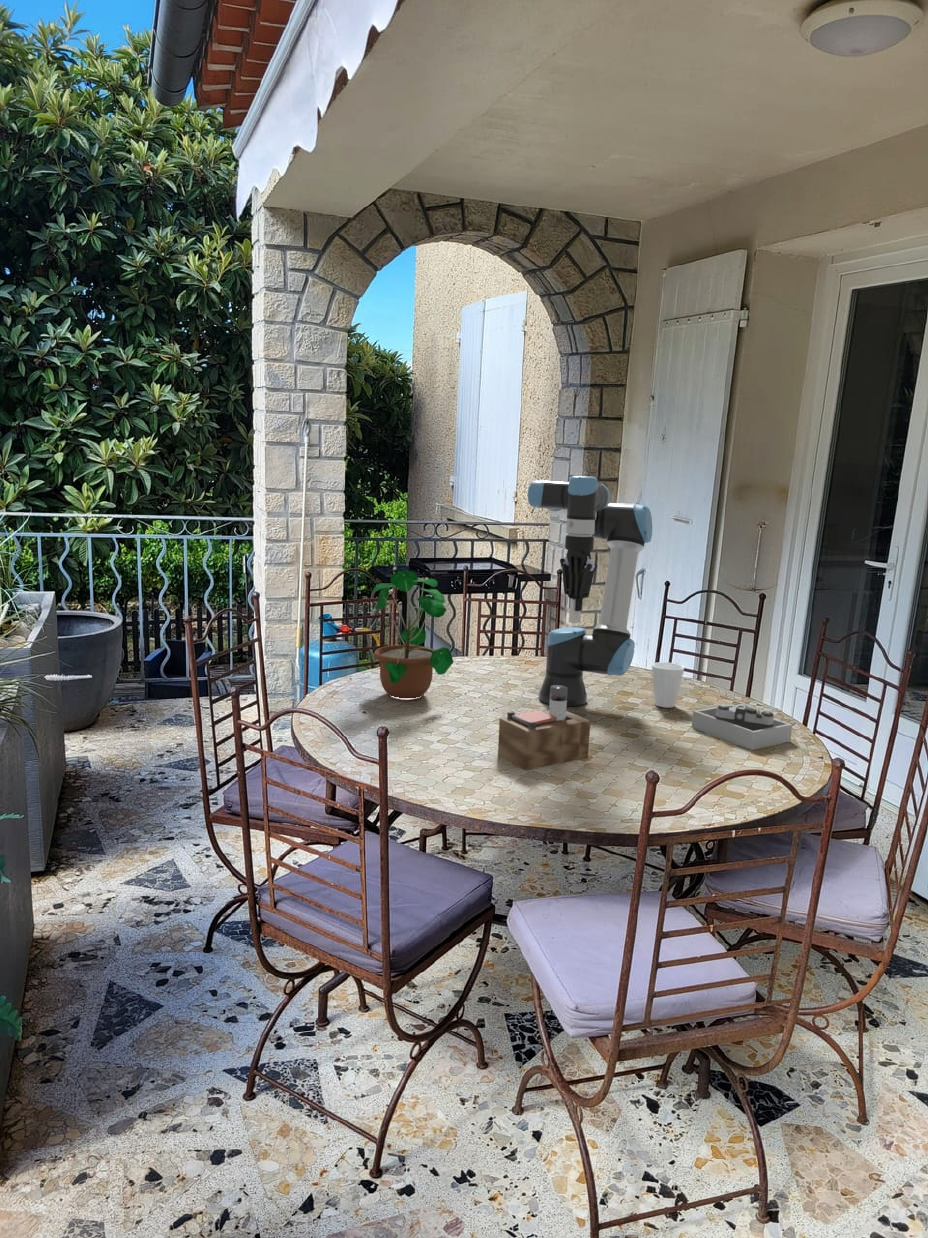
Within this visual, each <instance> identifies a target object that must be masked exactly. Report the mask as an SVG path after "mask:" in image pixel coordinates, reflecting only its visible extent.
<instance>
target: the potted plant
mask: <svg viewBox="0 0 928 1238" xmlns="http://www.w3.org/2000/svg"><path fill="white" fill-rule="evenodd" d="M419 582H420V583H422V586H421V587H420V590H421V595H419V596H418V598H416V599H417V601H418V603H419V607H417V606H412V609H418V611H417V613H416V616H415V618H414V620H413V621H412V623H411V613H410V610H411V609H410V600H409V599H410V598H409V594H408V593H409V591H410V590H411V589H412V588H413V587H414V586H416V585H418V584H419ZM424 584H426V585H429V586H431V587H433V588H430V589H426V588H424V586H425V585H424ZM438 585H439V584H438V581H437V580H436V579H434V578H426V579H425V578H424V579H419V577H418V574H417V573H416V572H415V571H414V570H413V571H412V570H400V571H396V572H393V574H392V575H391V576H390V583H388V582H387V583H386V582H381V583H379V584H376V586H374V587H373V590H372V592H371V593H372V594H375V593H376V592H378V591H379V594H378V596H377V597H378V598H377V601H376V604H375V606H374V609H375V610H380V611H381V610H383V609H384V608H385V607H386V605H388V608H389V612H390V616H391V618H392V622H393V624H394V627H395V629H396V632H397V633H398V636H399V638H400V640H401V642H402V644H396V645H395V644H394V645H393V644H392V645H387V646H386V645H385V646H381V647H379V648H377V649H376V650H375V651H374V652H373V657H374V658H375V659H377V661H378V662H379V679H380V683H381V686H382V688H383V690H384V691H385V692H386V694H388V695H389V696H390V695H391V696H394V697H399V698H416V697H420V696H421V697H422V696H424V695H425V694H426V693H427V691H429V689H430V687H431V685H432V684H431V683H432V681H433V673H434V672H433V671H435V672H436V673H437V675H444V674H446V673H447V672H448V670H449V669H450V668H451V666H452V665H453V663H454V659H453V656H452V653H451V650H450V649H449V648H448V647H444V646H443V647H441V648H437V649H435V648H432V647H428V646H422V645H421V644H423V643H424V642H426V638H427V637H426V636H427V631H426V630H425V628H424V626H425V623H426V619H427V616H430V617H434V618H441V617H443V616H444V615H445V613H446V612H447V611H448V610H447V608H446V606H445V605H444V604H445V602H446V601H445V596H444V594H443V593H441V592H440V591H439V590H438V589H435V588H436V587H438ZM391 588H395V589H397V590H398V591H401V592H406V597H407V607H408V625H407V626H406V623H405V621H404V618H403V615H402V612H401V610H400V607H399V605H398V602H397V601H396V598H395V597H394V596H395V595H393V592H392V591H391ZM424 592H426V593H428V595H423V594H424ZM390 594H391V596H392V598H393V600H394V602H395V605H396V607H397V610H398V612H399V615H400V618H401V620H402V624H403V626H404V630H402V632H401V633H400V631H399V629H398V627H397V624H396V622H395V619H394V617H393V613H392V609H391V606H390V604H389V603H388V598H389V595H390ZM430 595H431V596H430ZM423 612H425V613H426V615H425V617H424V621H423V623H422V626H421V627H418V626H419V623H420V621H421V617H422V615H423ZM405 642H406V643H405Z"/></svg>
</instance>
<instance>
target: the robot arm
mask: <svg viewBox="0 0 928 1238" xmlns="http://www.w3.org/2000/svg"><path fill="white" fill-rule="evenodd" d="M611 498H612V497H611V492H610V489H609V488H608V487H607V486H606V485H604V484H603V483H600V482H598V478H597V477H595V476H585V475H582V476H581V475H573V476H571V477H570V478H569V481H553V480H552V481H551V480H544V479H543V480H534V481H532V482H531V483H530V484H529V486H528V490H527V501H528V504H529V506H531V507H532V508H537V509H547V510H549V511H550V512H552V513H554V514H555V515H556V516H559V517H561V518H562V519H564V520H566V525H565V527H566V528H565V532H566V535H565V538H564V540H565V541H564V543H565V544H564V548H565V550H567V552H566V555H565V557H563V558H560V559H559V563H560V566H561V572H562V582H563V583H562V584H563V594H564V595H567V596H568V597H567V598H569V599H568V600H569V601H568V609H569V614H568V615H569V617H568V623H570V624H577V623H581V615H582V614H581V613H582V610H583V600H584V599H586V598H589V596H590V592H591V591H590V590H591V587H592V584H593V579H594V576H595V575H594V574H595V572H596V569H597V567H598V563H594V562H593V561H592V556H591V552H592V551H593V550H594V546H595V545H594V544H595V543H594V542H595V539H600V540H606V545H607V546H608V548H609V549H610V551H609V557H608V566H607V571H606V577H605V582H604V583H605V584H604V590H603V596H602V602H601V603H602V604H601V608H600V614H599V615H600V616H599V622H598V624H597V625H596V626H595V627H593V629H592V634H589V633H588V634H587V631H586V629H585V628H583V627H579V626H578V627H576V626H575V627H574V626H573V627H561V628H556V629H553V630H551V631H549V632H548V637H547V643H546V662H545V663H546V665H545V676H544V678H543V682H542V685H541V688H540V689H539V692H538V693H539V694H538V699H539V701H541V702H542V703H545V704H548V705H549V704H550V687H551V686H554V685H561V686H565V687H567V688H568V690H567V707H577V706H578V707H579V706H582V705H584V704H586V703H587V700H588V698H587V697H588V694H587V691H586V687H585V682H584V678H583V676H584V675H583V674H584V673H583V672H588V673H592V674H593V673H594V674H601V675H607V676H610V677H611V676H617V677H620V676H624V675H625V674H626V673H627V672H628V671H629V669H630V668H631V667H630V666H631V664H632V661H633V660H634V659H633V658H634V654H635V648H636V647H635V646H636V644H635V641H634V640H633V639H632V638H631V633H630V631H629V630H628V621H629V614H630V609H631V608H630V607H631V602H632V601H631V600H632V596H633V588H634V584H635V583H634V582H635V577H636V576H635V575H636V570H637V569H636V568H637V562H638V557H639V553H641V552H642V551H643V550H644V549H645V544H648V543H650V542H651V541H652V538H653V537H652V536H653V518H652V513H651V510H650V508H649V507H648V506H647V505H645V504H639V503H638V504H637V503H636V502H635V503H634V502H633V503H627V502H626V503H625V502H622V503H621V502H610V501H611Z"/></svg>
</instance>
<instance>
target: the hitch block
mask: <svg viewBox="0 0 928 1238" xmlns="http://www.w3.org/2000/svg"><path fill="white" fill-rule="evenodd" d="M542 712H544V713H546V714H549V710H545V711H544V710H543V711H542ZM515 713H516V712H514V711H508V712H507V716H504V717H499V725H498V745H497V756H498V757H500V758H501V759H504V760H506V761H508V762H509V763H511V764H513V765H515V766H517V767H519V768H521V769H522V770H523V771H529V770H534V769H538V768H544V767H549V766H553V765H554V766H555V765H559V764H564V763H565V764H566V763H568V762H569V763H570V762H575V761H580V760H585V759H589V750H590V749H589V746H590V732H591V720H590V719H587V718H585V717H582V716H581V715H579V714H578V715H577V714H576V713H572V712H570V711H568V710H566V720H565V721H559V722H554V721H550V722H545V723H541V724H537V725H536V722H534V721H532V722H529V724H528V726H527V725H525V724H523V723H520V722H518V721H516V720H514V719H512V718H511V716H512V715H516V714H515Z"/></svg>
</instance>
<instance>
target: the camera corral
mask: <svg viewBox="0 0 928 1238" xmlns="http://www.w3.org/2000/svg"><path fill="white" fill-rule="evenodd" d="M726 705H727V706H728V707H729V708H730V707H734V706H735V705H734V704H726ZM717 707H718V706H714V707H708V708H703V709H702V708H701V709H697V710H693V711H692V719H691V728H692V729H695V730H697V731H700V732H702V733H706V734H708V735H711V736H714V737H715V738H718V739H721V740H724V741H727V742H729V743H732V744H734V745H738V746H741V747H743V748H746V749H748V750H751V751H754V750H759V749H764V748H768V747H773V746H776V745H782V743H783V744H786V742H787V743H791V741H792V731H793V724H791V723H788V722H785V721H782V720H779V719H777V718H774V720H773V727H770V728H765V729H760V730H755V731H752V730H749V729H747V728H744V727H741V726H738V725H735V724H732V723H730V722H727V721H723V720H718V719H716V718H715V715H716V713H717Z"/></svg>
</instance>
